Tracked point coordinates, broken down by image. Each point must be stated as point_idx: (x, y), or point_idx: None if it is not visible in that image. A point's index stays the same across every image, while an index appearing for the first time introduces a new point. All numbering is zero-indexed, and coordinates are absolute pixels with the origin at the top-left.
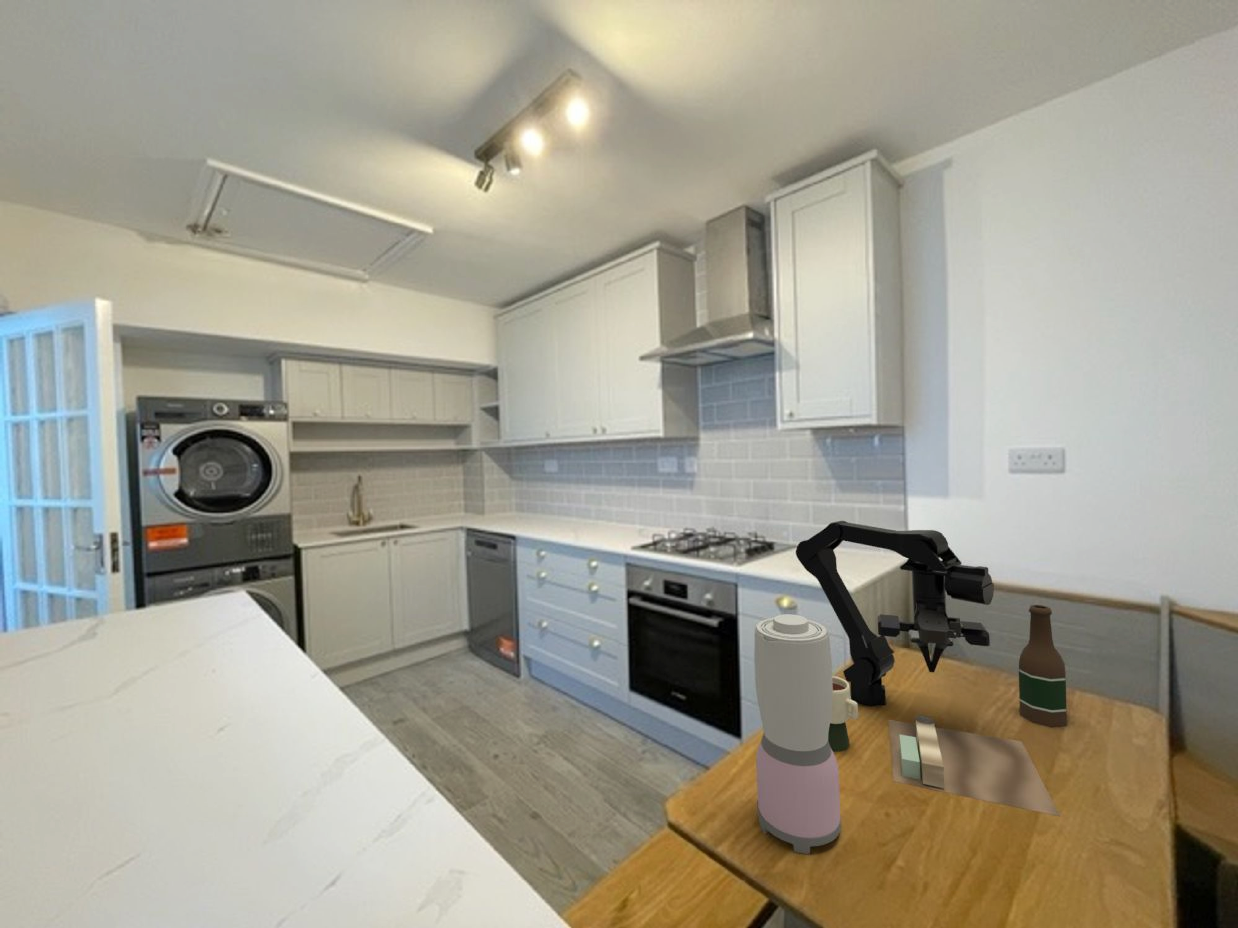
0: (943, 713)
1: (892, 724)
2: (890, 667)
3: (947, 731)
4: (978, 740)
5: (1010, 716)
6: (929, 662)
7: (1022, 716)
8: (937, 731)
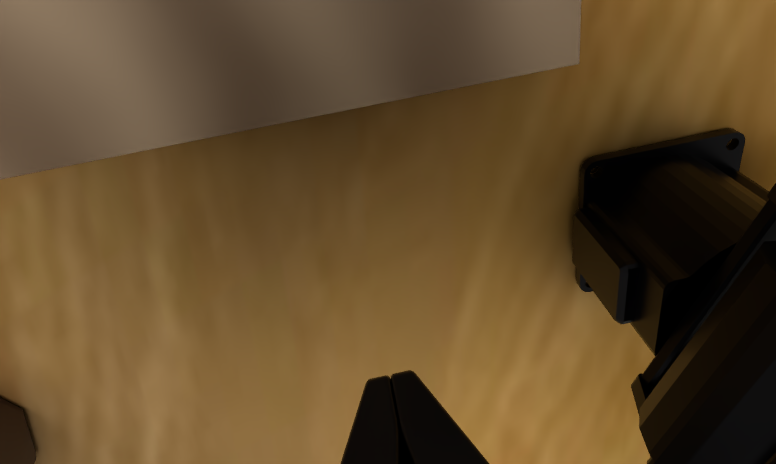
0: (321, 321)
1: (559, 13)
2: (667, 401)
3: (265, 98)
4: (93, 82)
5: (76, 429)
6: (432, 457)
7: (1, 429)
8: (315, 67)
